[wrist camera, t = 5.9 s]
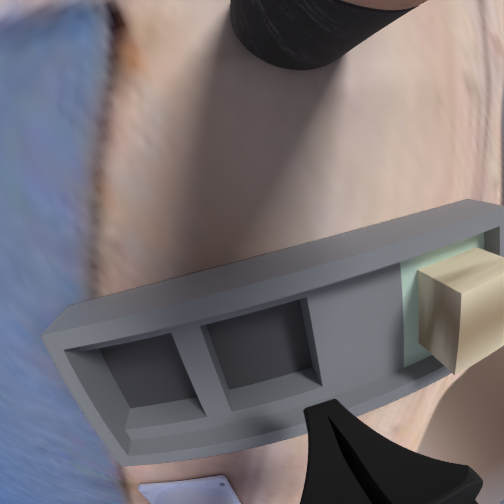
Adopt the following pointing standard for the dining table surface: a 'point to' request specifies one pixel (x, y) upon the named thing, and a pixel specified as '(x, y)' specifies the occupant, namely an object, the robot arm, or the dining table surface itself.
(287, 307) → the tray
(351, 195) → the dining table surface
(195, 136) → the dining table surface
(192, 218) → the dining table surface
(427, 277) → the birch block
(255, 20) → the travel mug
